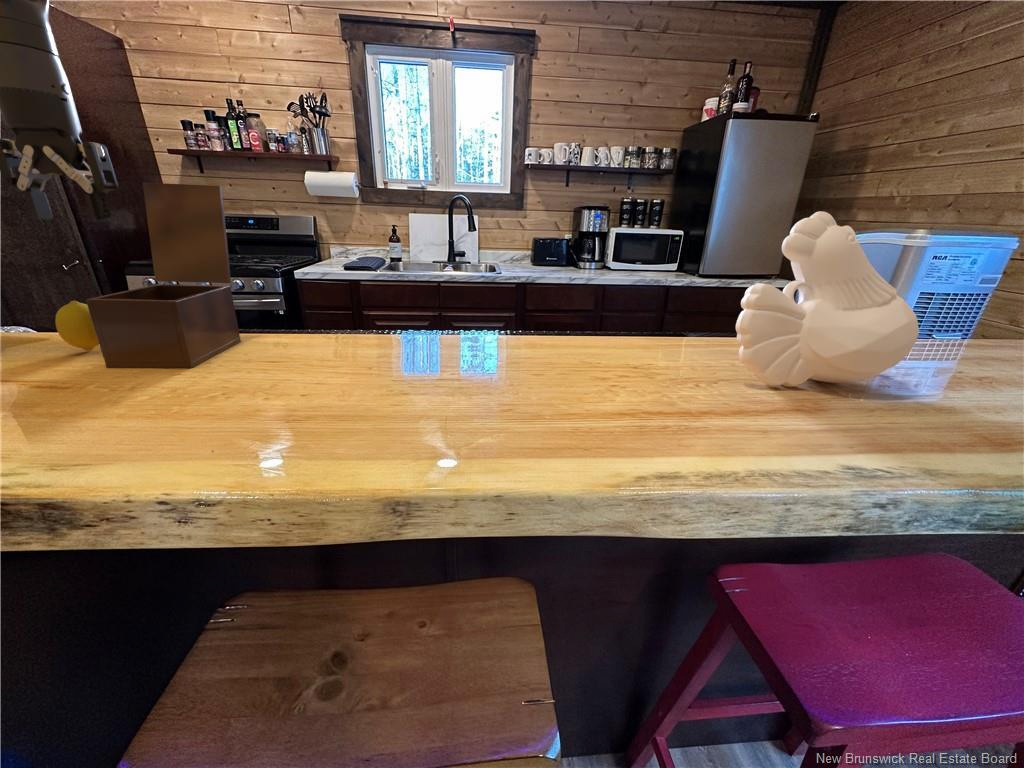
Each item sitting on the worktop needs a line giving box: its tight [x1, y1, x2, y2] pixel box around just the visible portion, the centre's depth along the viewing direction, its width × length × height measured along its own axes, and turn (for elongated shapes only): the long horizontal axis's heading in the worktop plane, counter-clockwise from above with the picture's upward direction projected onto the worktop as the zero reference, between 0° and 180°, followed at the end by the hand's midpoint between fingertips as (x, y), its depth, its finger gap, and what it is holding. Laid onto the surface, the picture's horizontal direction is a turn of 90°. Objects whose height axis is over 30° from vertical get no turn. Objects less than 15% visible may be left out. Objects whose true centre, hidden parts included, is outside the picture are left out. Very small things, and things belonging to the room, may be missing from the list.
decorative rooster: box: [735, 210, 920, 388], centre depth 67 cm, size 25×16×25 cm
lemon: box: [54, 300, 100, 352], centre depth 68 cm, size 6×6×8 cm
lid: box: [142, 181, 232, 284], centre depth 72 cm, size 15×12×1 cm
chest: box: [85, 283, 242, 369], centre depth 68 cm, size 15×12×10 cm
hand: (72, 220), depth 64 cm, fingers open, 8 cm apart
